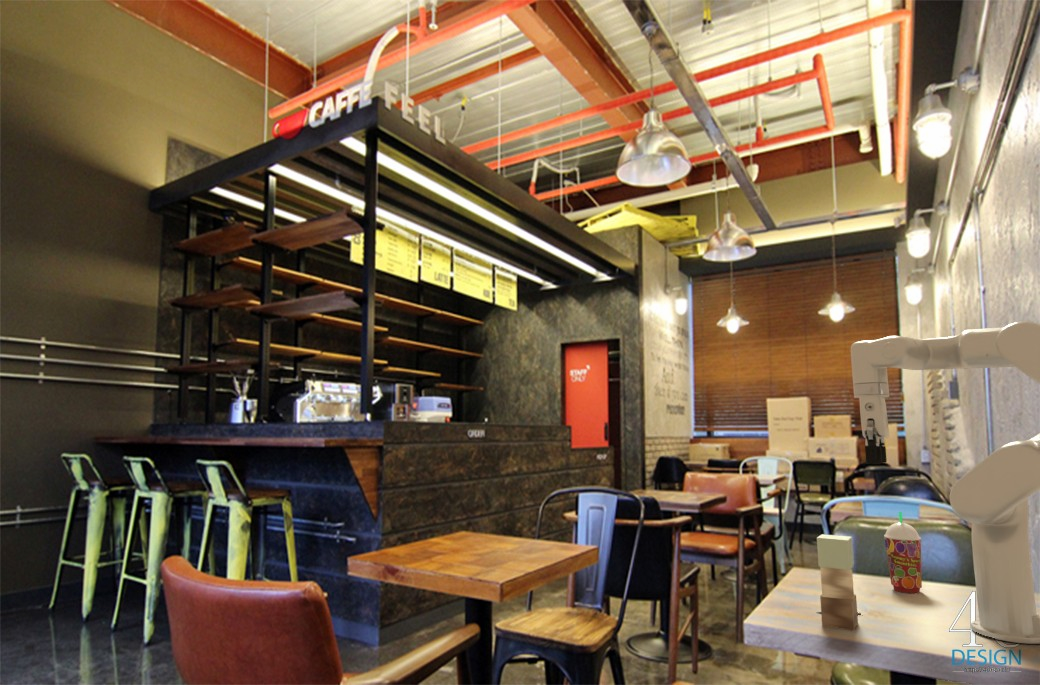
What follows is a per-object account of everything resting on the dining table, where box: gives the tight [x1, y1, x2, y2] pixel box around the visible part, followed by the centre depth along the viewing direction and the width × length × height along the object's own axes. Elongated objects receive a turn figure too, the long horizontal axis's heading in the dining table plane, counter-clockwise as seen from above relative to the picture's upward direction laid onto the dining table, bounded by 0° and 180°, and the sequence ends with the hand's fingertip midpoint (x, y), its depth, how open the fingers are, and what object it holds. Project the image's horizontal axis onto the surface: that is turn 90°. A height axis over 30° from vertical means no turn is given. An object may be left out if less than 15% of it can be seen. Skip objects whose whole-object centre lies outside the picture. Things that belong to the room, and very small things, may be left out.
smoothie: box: [883, 511, 923, 594], centre depth 166 cm, size 8×8×20 cm
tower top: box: [819, 567, 855, 600], centre depth 136 cm, size 6×6×6 cm
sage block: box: [816, 533, 855, 570], centre depth 137 cm, size 6×6×6 cm
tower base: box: [819, 593, 859, 631], centre depth 135 cm, size 6×6×6 cm
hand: (876, 463), depth 152 cm, fingers open, 9 cm apart
